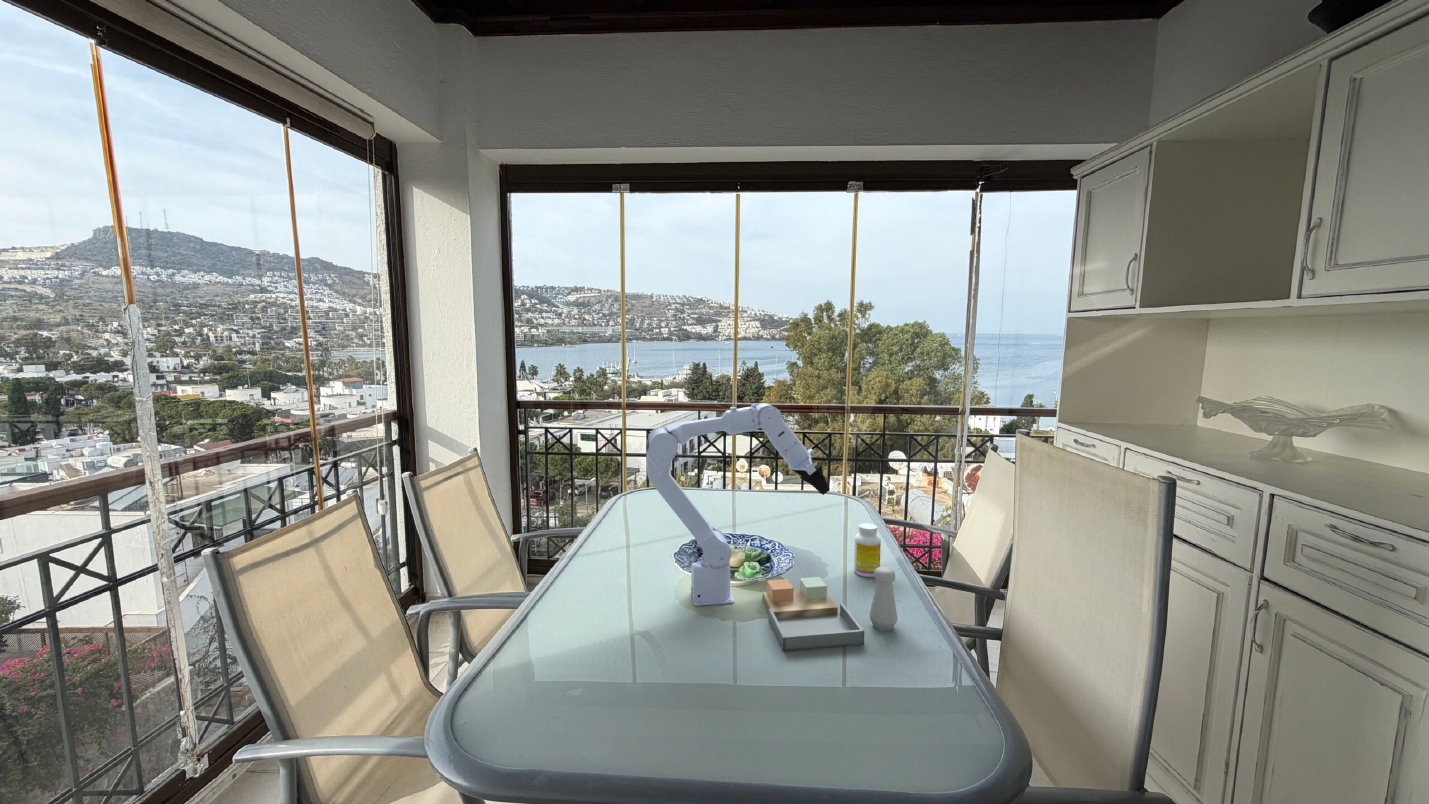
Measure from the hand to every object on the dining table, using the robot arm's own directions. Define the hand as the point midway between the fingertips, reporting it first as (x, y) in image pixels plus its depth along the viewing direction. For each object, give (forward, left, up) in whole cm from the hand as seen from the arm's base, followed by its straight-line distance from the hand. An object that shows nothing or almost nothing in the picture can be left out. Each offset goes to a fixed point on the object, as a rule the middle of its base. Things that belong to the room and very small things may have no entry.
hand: (820, 487), depth 136 cm
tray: (-8, -20, -26) cm, 34 cm away
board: (-8, -9, -26) cm, 28 cm away
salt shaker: (+8, -20, -26) cm, 34 cm away
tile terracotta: (-12, -7, -24) cm, 27 cm away
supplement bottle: (+16, +7, -26) cm, 31 cm away
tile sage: (-4, -7, -24) cm, 25 cm away
